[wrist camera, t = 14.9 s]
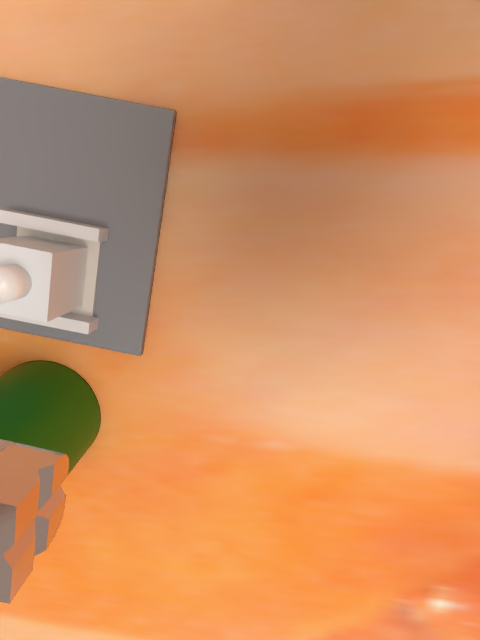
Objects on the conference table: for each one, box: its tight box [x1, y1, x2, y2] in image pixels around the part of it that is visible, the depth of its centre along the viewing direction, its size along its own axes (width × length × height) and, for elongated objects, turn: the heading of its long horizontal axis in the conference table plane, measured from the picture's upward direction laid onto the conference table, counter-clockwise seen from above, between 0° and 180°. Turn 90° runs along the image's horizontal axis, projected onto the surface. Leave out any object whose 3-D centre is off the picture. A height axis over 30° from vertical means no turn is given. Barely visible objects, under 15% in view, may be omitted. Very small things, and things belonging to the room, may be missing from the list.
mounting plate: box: [0, 77, 176, 356], centre depth 35 cm, size 20×16×3 cm
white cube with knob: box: [0, 236, 88, 322], centre depth 32 cm, size 5×5×8 cm
